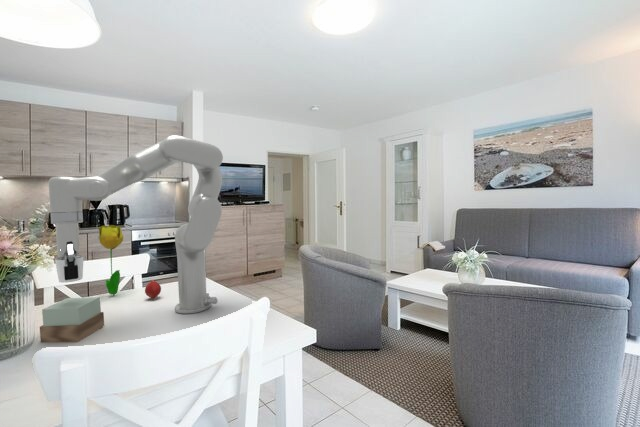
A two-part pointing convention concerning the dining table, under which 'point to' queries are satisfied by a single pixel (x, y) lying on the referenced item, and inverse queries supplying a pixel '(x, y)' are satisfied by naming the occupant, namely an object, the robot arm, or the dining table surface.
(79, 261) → the white cup
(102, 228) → the flower
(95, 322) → the tower base block
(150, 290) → the onion
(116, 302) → the dining table surface
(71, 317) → the tower top block
